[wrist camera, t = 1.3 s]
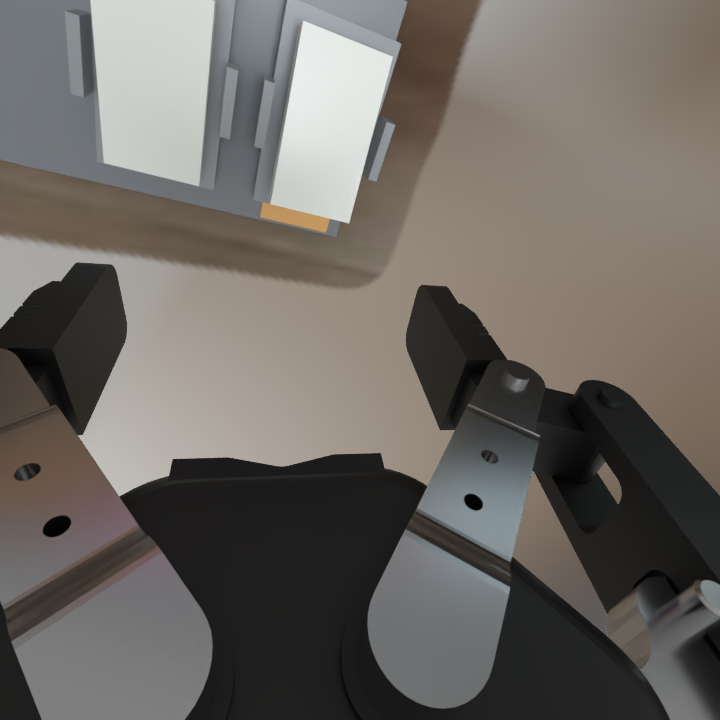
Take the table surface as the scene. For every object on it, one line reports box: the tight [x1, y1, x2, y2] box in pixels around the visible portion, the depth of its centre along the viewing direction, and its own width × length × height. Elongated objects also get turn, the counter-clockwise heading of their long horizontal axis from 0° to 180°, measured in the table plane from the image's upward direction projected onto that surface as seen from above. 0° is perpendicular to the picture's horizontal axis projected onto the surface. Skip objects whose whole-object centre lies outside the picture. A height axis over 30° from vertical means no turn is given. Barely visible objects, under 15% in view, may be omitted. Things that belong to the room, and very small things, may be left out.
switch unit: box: [0, 0, 407, 237], centre depth 21 cm, size 21×13×4 cm, turn 72°
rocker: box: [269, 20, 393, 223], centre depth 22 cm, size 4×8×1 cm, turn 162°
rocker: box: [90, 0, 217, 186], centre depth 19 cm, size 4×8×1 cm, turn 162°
